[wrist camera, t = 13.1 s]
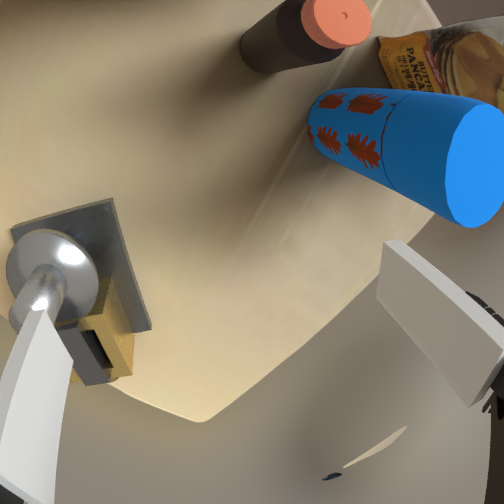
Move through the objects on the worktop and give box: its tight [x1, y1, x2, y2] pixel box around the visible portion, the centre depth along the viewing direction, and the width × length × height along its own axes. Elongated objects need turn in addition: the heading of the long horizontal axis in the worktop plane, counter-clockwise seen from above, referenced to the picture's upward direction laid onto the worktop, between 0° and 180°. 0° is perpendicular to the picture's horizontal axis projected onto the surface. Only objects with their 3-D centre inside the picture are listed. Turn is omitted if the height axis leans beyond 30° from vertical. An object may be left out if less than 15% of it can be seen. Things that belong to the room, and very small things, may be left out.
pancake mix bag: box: [378, 14, 504, 115], centre depth 28 cm, size 7×19×28 cm, turn 33°
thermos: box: [308, 87, 504, 227], centre depth 30 cm, size 11×11×25 cm
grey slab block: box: [54, 320, 111, 386], centre depth 39 cm, size 10×4×10 cm, turn 8°
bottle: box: [240, 0, 372, 73], centre depth 26 cm, size 7×7×20 cm
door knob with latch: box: [6, 198, 152, 383], centre depth 35 cm, size 26×16×18 cm, turn 6°
